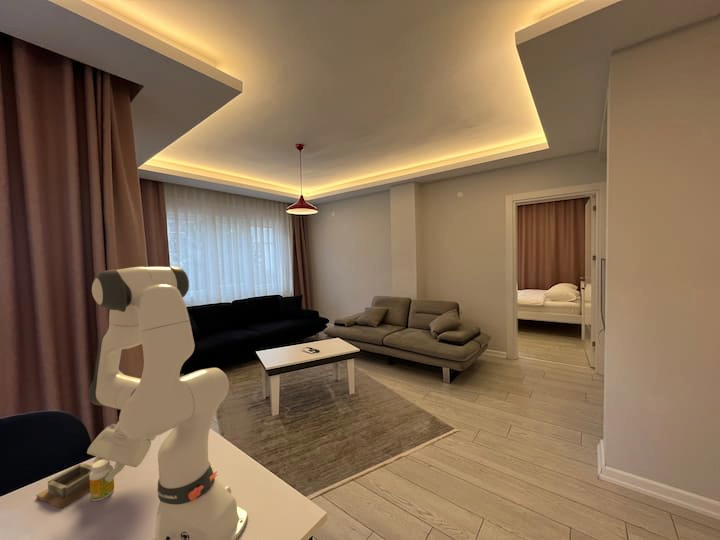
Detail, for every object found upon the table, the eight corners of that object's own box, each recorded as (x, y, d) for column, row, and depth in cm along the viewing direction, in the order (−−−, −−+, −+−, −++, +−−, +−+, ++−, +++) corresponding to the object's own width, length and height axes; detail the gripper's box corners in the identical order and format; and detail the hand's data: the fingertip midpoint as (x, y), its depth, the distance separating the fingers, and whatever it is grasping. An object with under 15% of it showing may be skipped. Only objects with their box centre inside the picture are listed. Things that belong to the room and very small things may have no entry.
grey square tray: (109, 478, 96) (108, 466, 96) (61, 508, 84) (60, 495, 84) (85, 470, 100) (84, 458, 99) (36, 498, 88) (35, 485, 88)
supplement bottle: (100, 502, 86) (98, 470, 86) (85, 500, 87) (83, 468, 87) (119, 488, 91) (117, 457, 91) (105, 486, 92) (102, 455, 92)
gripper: (101, 420, 98) (67, 469, 89) (146, 430, 92) (113, 484, 83) (117, 425, 103) (85, 473, 94) (161, 435, 96) (131, 487, 87)
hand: (99, 478), depth 88 cm, fingers closed on supplement bottle, 5 cm apart
